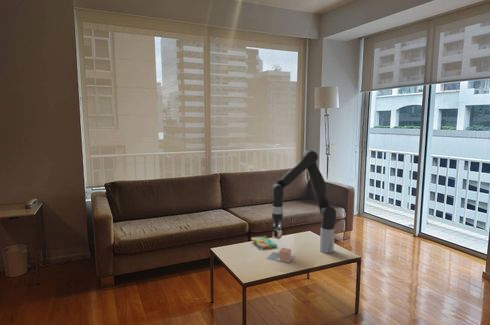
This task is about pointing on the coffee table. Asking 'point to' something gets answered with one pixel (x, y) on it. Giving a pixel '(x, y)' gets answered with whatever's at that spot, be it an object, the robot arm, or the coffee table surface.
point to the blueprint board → (275, 257)
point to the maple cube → (278, 234)
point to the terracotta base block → (284, 254)
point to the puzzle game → (263, 242)
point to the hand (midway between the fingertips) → (277, 235)
